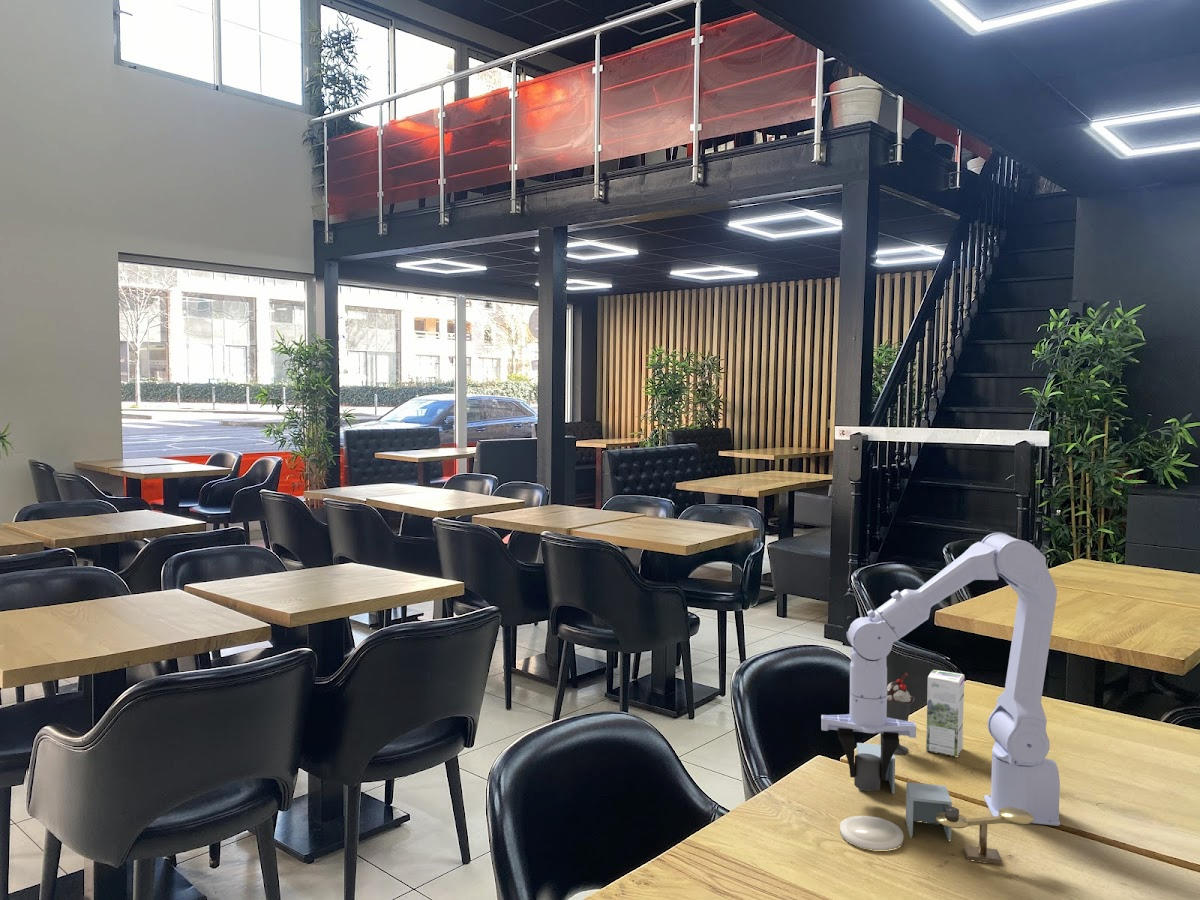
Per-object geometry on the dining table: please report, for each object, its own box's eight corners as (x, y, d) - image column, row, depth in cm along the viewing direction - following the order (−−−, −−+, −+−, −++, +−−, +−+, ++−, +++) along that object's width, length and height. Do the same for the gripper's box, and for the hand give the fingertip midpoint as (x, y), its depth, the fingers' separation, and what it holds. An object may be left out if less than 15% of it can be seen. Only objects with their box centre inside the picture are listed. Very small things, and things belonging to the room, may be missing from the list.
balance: (1027, 855, 122) (1028, 809, 122) (1035, 871, 118) (1037, 823, 118) (932, 844, 125) (933, 799, 125) (937, 859, 121) (938, 812, 121)
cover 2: (944, 824, 132) (945, 785, 131) (950, 841, 126) (951, 802, 126) (905, 819, 133) (906, 781, 133) (910, 837, 127) (911, 797, 127)
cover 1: (890, 779, 147) (891, 745, 147) (894, 794, 142) (895, 758, 142) (856, 776, 149) (857, 742, 148) (858, 790, 143) (859, 755, 143)
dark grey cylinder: (879, 781, 140) (879, 754, 139) (881, 792, 136) (881, 764, 135) (853, 779, 140) (854, 752, 140) (855, 789, 137) (855, 761, 136)
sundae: (916, 758, 157) (918, 677, 156) (878, 754, 158) (880, 675, 158) (911, 744, 163) (912, 667, 163) (874, 741, 165) (876, 664, 164)
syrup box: (963, 748, 162) (965, 672, 161) (957, 759, 157) (959, 681, 156) (931, 742, 165) (933, 667, 164) (925, 752, 160) (926, 675, 159)
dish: (899, 825, 131) (899, 819, 131) (906, 855, 122) (906, 847, 122) (838, 819, 133) (838, 812, 133) (841, 847, 124) (841, 840, 124)
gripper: (822, 697, 135) (821, 782, 136) (919, 705, 132) (918, 791, 132) (821, 684, 142) (820, 764, 143) (913, 690, 139) (912, 772, 139)
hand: (867, 776), depth 138 cm, fingers closed on dark grey cylinder, 4 cm apart
